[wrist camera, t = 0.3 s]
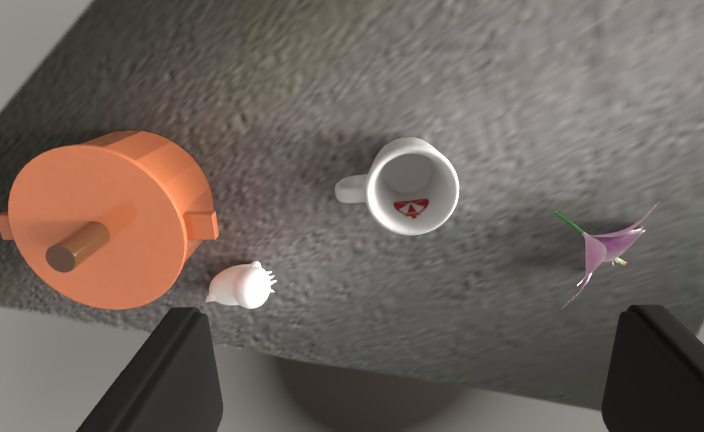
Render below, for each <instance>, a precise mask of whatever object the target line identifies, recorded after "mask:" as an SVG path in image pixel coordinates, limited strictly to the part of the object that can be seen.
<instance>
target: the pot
mask: <svg viewBox="0 0 704 432" xmlns="http://www.w3.org/2000/svg"><path fill="white" fill-rule="evenodd" d="M82 144H85V145H95V146H101V147H105V148H108V149H112V150H115V151H117V152H120V153H122V154H124V155H126V156H129V157H130V158H132V159H134V160H135V161H137V162H139V163H140V164H142V165H143V166H144V167H146V168H147V169H148V170H150V171H151V172H152V173H153V174H154V175H155V176H156V177H157V178H158V179H159V180H160V181H161V182H162V183H163V184H164V185H165V187H166V188H167V189H168V191H169V192H170V193H171V195H172V196H173V198H174V199H175V201H176V203H177V205H178V207H179V209H180V211H181V214H182V217H183V219H184V223H185V228H186V233H187V254H186V259H185V261H186V260H187V259H188V258H189V257H190V256H191V254H192V253H193V252H194V251H195V250H196V248H197V247H198V246H199V245H200V244H201V243H202V241H203V240H215V239H216V238H217V237H218V236H219V233H218V226H217V219H216V212H215V211H213V198H212V193H211V189H210V186H209V183H208V181H207V179H206V177H205V175H204V173H203V171H202V170H201V168H200V167H199V165H198V164H197V163H196V161H195V160H194V159H193V158H192V157H191V156H190V155H189V154H188V153H187V152H186V151H185V150H184V149H182V148H181V147H180V146H178V145H177V144H175V143H174V142H172V141H170V140H168V139H166V138H164V137H162V136H160V135H156V134H153V133H150V132H144V131H134V130H129V131H118V132H112V133H109V134H107V135H104V136H101V137H99V138H96V139H93V140H90V141H88V142H85V143H82ZM0 232H1V235H2V238H3V240H14V238H13V235H12V232H11V228H10V224H9V216H8V212H2V213H0Z"/></svg>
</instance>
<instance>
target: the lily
mask: <svg viewBox="0 0 704 432" xmlns="http://www.w3.org/2000/svg"><path fill="white" fill-rule="evenodd" d="M658 203H659V202H658ZM658 203H657V204H658ZM657 204H656V205H657ZM656 205H655V206H654V207H653V208H652V209H651V210H650V211H649V212H648V213H647V214H645V215H644V216H643V217H642V218H641V219H640V220H639V221H637V222H636V223H635V224H633V225H632V226H630V227H628V228H626V229H624V230H621V231H618V232H613V233H608V234H601V235H588V234H587V233H585V232H584V231H583V230H581V229H580V228H579V227H577V226H576V225H575V224H574V223H572V222H571V221H569V220H568V219H567V218H565V217H564V216H562V215H561V214H559V213H558V212H557V211H555V212H554V214H556V215H557V216H558V217H560V218H561V219H563V220H564V221H566V222H567V223H568V224H570V225H571V226H572V227H574V228H575V229H576V230H578V231H579V232H580V233H581V234H582V235H583V236H584V238H585V245H586V273H585V277H584V278H583V279H582V280H581V281H580V282H579V283H578V285H579V284H580V283H581V282H582V281H583V280H584V279H585V278H586V277H587V279H586V281H585V283H584V284H583V286H582V287H581V288H580V290H579V291H578V292H577V293H576V294H575V295H574V296H573V297H572V298H571V299H570V300H569V301H568V302H567V303H566V304H565V305H564V306H566V305H567V304H568V303H569V302H571V301H572V300H573V299H574V298H575V297H576V296H577V295H578V294H579V293H580V292H581V291H582V289H583V288H584V286H585V284H586V283H587V282H588V280H589V278H590V276H591V274H592V272H593V271H594V270H595V269H596V268H597V267H598V266H599V265H600V264H601V263H602V262H608V261H612V260H615V259H616V260H617V261H619V262H620V263H621V264H623V263H624V261H623V260H621V259H620V260H619V258H618V256H620V255H621V254H622V253H623V252H624V251H626V250H627V249H628V248H629V247H630V246H631V245H632V244H633V242H634V241H635V240H636V239H637V238H638V237H639V236H640V235H641V234H642V233H643V232H644V231H645V230H644V231H640V230H641V229H643V227H644V226H641V227H640V228H639V229H637V230H633V229H634V228H635V227H637V226H638V225H639V224H640V223H641V222H642V221H643V220H644V219H645V218H646V217H647V216H648V215H649V214H650V213H651V211H652V210H653V209H654V208H655V207H656ZM616 260H615V261H616ZM617 261H616V263H618V262H617ZM622 262H623V263H622ZM625 263H626V262H625ZM625 263H624V264H623V265H625ZM612 264H613V266H614V263H613V261H612ZM618 264H619V263H618ZM626 264H628V263H626ZM614 267H615V266H614ZM578 285H577V286H578ZM564 306H563V307H564ZM563 307H562V308H563ZM562 308H561V309H562Z"/></svg>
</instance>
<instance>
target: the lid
mask: <svg viewBox="0 0 704 432" xmlns="http://www.w3.org/2000/svg"><path fill="white" fill-rule="evenodd" d="M8 216H9V224H10V228H11V232H12V235H13V238H14V240H15V243H16V245H17V247H18V249H19V251H20V253H21V255H22V256H23V258H24V259H25V261H26V262H27V263H28V265H29V266H30V267H31V268H32V269H33V271H34V272H35V273H36V274H37V275H38V276H39V277H40V278H41V279H42V280H43V281H44V282H46V283H47V284H48V285H49V286H51V287H52V288H53V289H55V290H56V291H58V292H59V293H61V294H63V295H65V296H66V297H68V298H70V299H72V300H75V301H77V302H80V303H82V304H85V305H89V306H92V307H97V308H102V309H113V310H119V309H130V308H135V307H139V306H142V305H145V304H147V303H149V302H152V301H154V300H155V299H157V298H158V297H160V296H161V295H163V294H164V293H165V292H166V291H167V290H168V289H169V288H170V287H171V286H172V284H173V283H174V282H175V281H176V279H177V278H178V276H179V274H180V273H181V271H182V268H183V265H184V263H185V259H186V254H187V233H186V228H185V223H184V219H183V217H182V214H181V211H180V209H179V207H178V205H177V203H176V201H175V199H174V198H173V196H172V195H171V193H170V192H169V191H168V189H167V188H166V187H165V185H164V184H163V183H162V182H161V181H160V180H159V179H158V178H157V177H156V176H155V175H154V174H153V173H152V172H151V171H150V170H148V169H147V168H146V167H144V166H143V165H142V164H140V163H139V162H137V161H135V160H134V159H132V158H130V157H129V156H126V155H124V154H122V153H120V152H117V151H115V150H112V149H108V148H105V147H101V146H95V145H85V144H75V145H66V146H61V147H57V148H54V149H51V150H49V151H46V152H44V153H42V154H40V155H38V156H37V157H35V158H33V159H32V160H31V161H30V162H29V163H27V164H26V165H25V166H24V168H23V169H22V170H21V171H20V172H19V174H18V176H17V177H16V179H15V181H14V183H13V186H12V188H11V191H10V196H9V201H8Z"/></svg>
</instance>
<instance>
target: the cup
mask: <svg viewBox="0 0 704 432" xmlns="http://www.w3.org/2000/svg"><path fill="white" fill-rule="evenodd" d="M335 195H336V198H337V199H338V201H340V202H342V203H361V202H365V203H366V205H367V208H368V210H369V212H370V214H371V215H372V217H373V218H374V219H375V220H376V221H377V222H378V223H379V224H380V225H381V226H382V227H384V228H386V229H387V230H389V231H392V232H394V233H397V234H402V235H419V234H424V233H427V232H430V231H432V230H434V229H436V228H437V227H439V226H440V225H441V224H443V223H444V222H445V221H446V220H447V219H448V218H449V216H450V215H451V214H452V212H453V210H454V208H455V206H456V204H457V200H458V195H459V183H458V178H457V175H456V172H455V170H454V168H453V166H452V165H451V163H450V162H449V161H448V160H447V159H446V158H445V157H444V156H443V155H442V154H441V153H439V152H438V151H437V150H436V149H435V148H434V147H432V146H431V145H430V144H428V143H427V142H425V141H423V140H421V139H418V138H413V137H404V138H399V139H396V140H393V141H391V142H389V143H388V144H386V145H385V146H384V147H383V148H382V149H381V150H380V151H379V153H378V154H377V156H376V157H375V159H374V161H373V164H372V166H371V168H370V170H369V172H368V174H363V175H356V176H350V177H346V178H344V179H342V180H340V181H339V182H338V183H337V184H336V186H335Z"/></svg>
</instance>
